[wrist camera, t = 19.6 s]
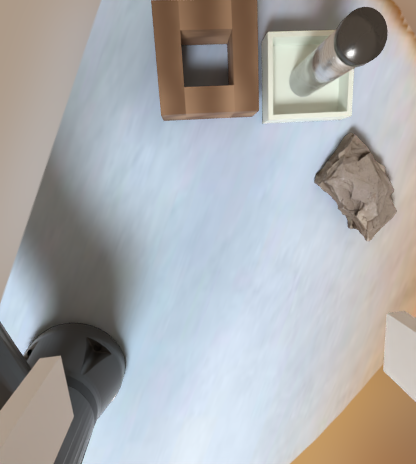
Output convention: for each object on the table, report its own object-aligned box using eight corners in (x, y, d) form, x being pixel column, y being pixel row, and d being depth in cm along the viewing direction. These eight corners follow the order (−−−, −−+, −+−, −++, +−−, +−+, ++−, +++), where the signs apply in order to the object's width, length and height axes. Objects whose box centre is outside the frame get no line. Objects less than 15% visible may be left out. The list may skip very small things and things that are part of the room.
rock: (401, 198, 43) (422, 201, 39) (355, 238, 44) (371, 245, 40) (350, 129, 40) (367, 125, 37) (302, 174, 41) (314, 174, 37)
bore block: (163, 120, 38) (161, 115, 34) (155, 19, 35) (151, 0, 31) (251, 116, 39) (258, 110, 35) (249, 16, 36) (257, -2, 32)
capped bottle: (287, 99, 38) (338, 63, 25) (287, 63, 37) (340, 7, 24) (319, 97, 38) (385, 62, 25) (320, 62, 37) (389, 6, 25)
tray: (262, 123, 39) (268, 120, 36) (261, 42, 37) (267, 31, 34) (339, 120, 40) (351, 116, 37) (342, 40, 37) (355, 29, 34)
